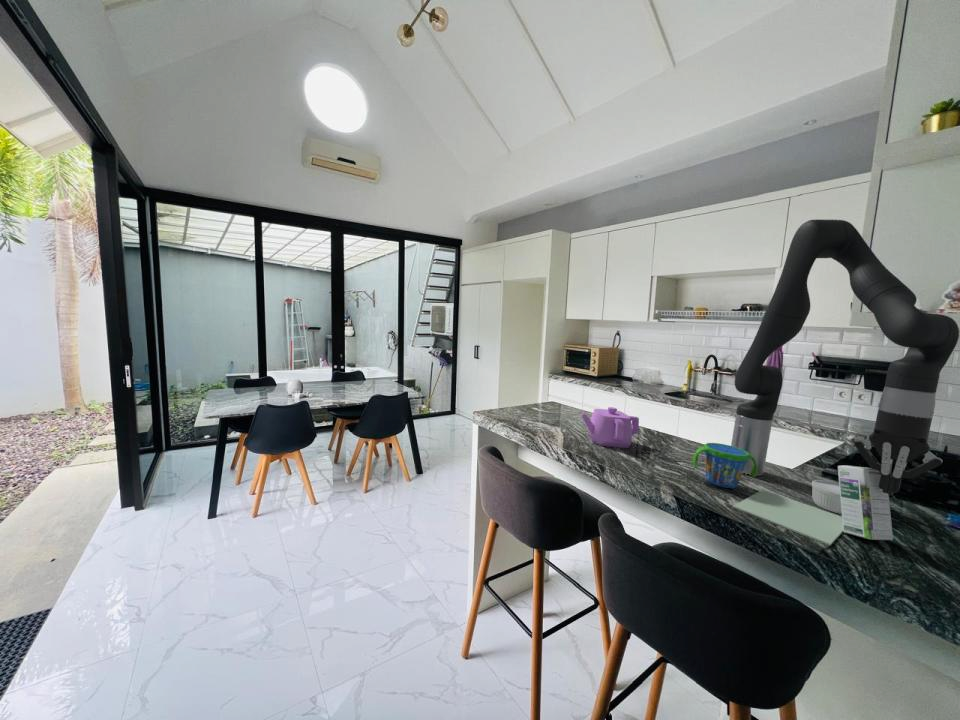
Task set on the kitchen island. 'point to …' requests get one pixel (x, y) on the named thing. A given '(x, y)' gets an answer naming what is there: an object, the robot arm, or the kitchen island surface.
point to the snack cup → (724, 464)
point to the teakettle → (611, 427)
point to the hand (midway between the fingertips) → (887, 492)
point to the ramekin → (827, 495)
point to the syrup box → (864, 503)
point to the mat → (793, 516)
